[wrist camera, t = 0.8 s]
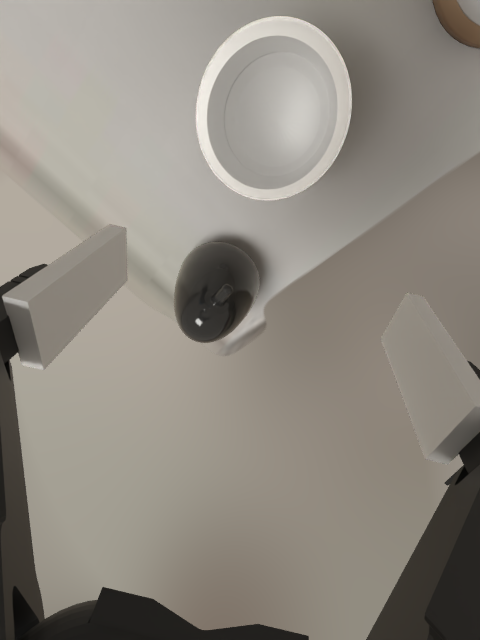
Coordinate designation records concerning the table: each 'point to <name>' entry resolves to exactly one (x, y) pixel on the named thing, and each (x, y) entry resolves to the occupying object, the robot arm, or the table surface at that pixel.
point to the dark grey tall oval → (214, 291)
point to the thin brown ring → (460, 19)
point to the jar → (273, 108)
